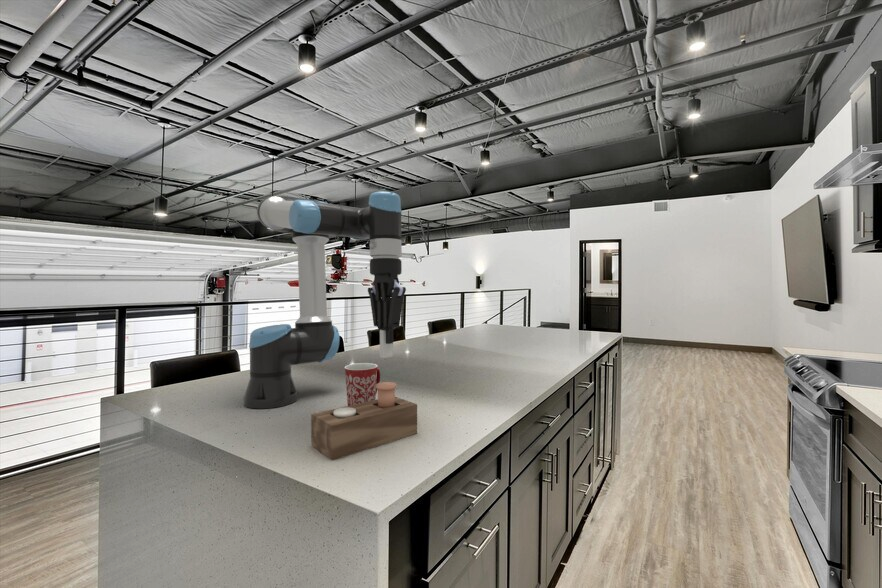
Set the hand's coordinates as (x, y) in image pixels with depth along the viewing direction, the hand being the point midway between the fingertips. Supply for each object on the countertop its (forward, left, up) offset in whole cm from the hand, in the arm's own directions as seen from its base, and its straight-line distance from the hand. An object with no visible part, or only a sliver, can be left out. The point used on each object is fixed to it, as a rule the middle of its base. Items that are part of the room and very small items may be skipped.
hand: (386, 356), depth 93 cm
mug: (-17, +5, -19) cm, 26 cm away
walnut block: (0, -5, -19) cm, 19 cm away
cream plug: (0, -11, -17) cm, 20 cm away
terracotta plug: (0, 0, -13) cm, 13 cm away
